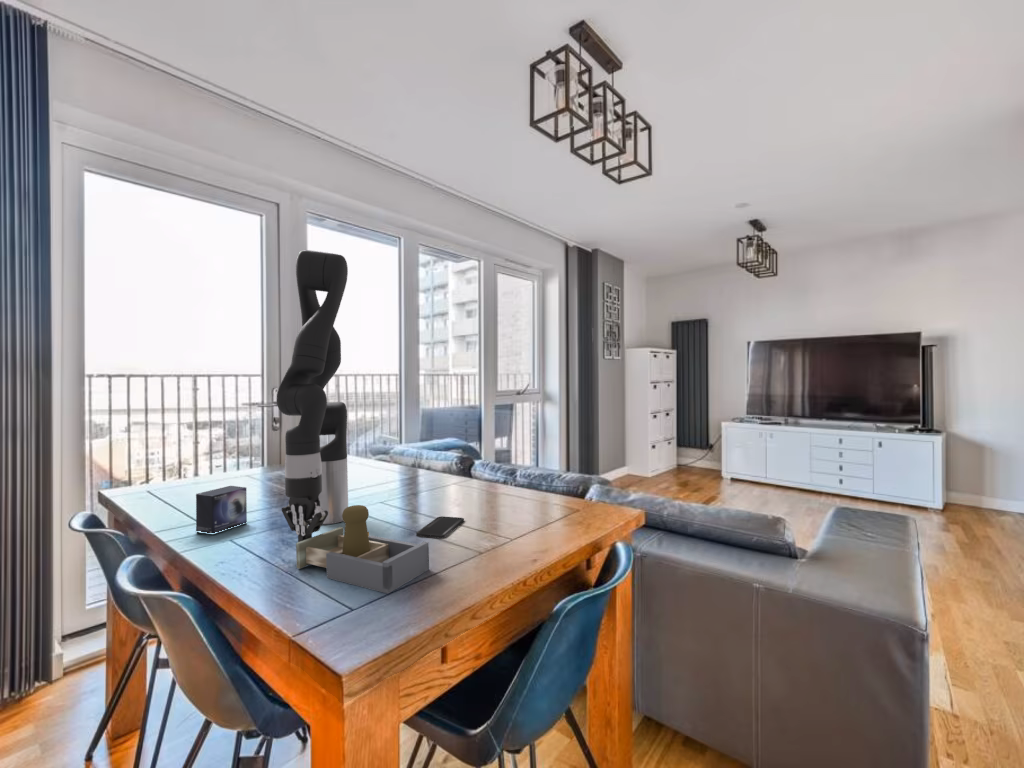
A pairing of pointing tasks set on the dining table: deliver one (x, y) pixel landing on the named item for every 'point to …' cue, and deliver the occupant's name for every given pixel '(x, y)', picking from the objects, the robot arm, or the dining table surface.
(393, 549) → the grey open box
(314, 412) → the robot arm
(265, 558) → the dining table surface
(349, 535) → the olive tall rounded piece
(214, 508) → the small box
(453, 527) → the phone
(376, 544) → the drawer
